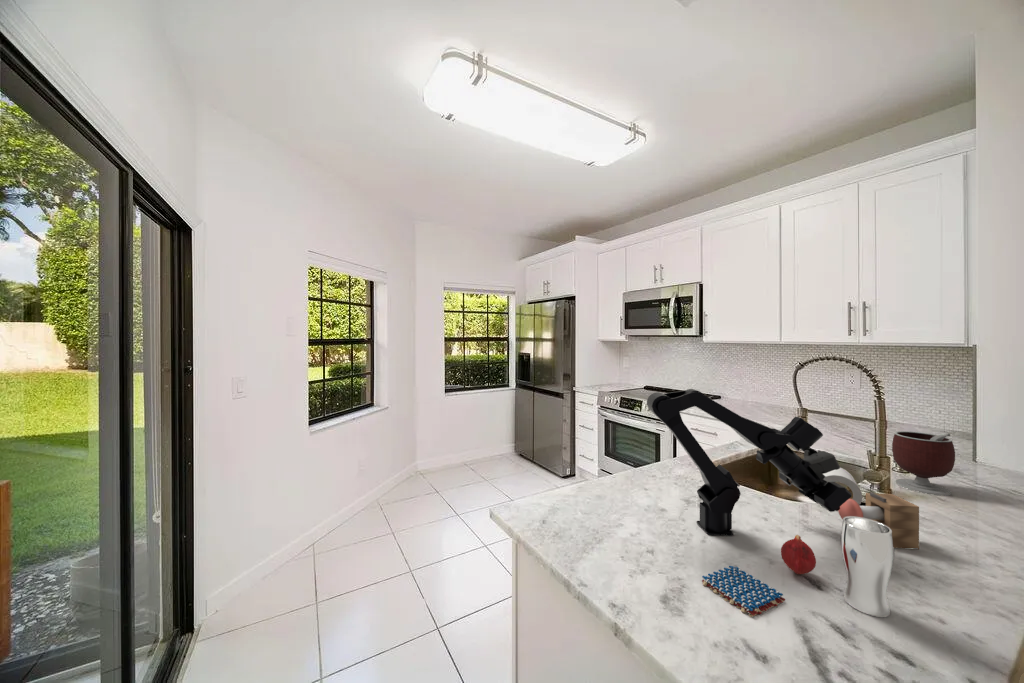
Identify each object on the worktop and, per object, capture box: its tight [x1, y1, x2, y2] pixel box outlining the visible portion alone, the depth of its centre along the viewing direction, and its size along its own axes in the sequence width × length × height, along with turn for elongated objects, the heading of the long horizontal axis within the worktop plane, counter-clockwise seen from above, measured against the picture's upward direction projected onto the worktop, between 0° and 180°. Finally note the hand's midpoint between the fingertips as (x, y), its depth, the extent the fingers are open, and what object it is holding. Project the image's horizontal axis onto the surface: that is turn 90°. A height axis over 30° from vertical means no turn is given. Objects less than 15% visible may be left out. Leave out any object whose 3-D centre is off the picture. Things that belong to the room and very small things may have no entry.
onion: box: [780, 534, 817, 575], centre depth 77 cm, size 6×6×8 cm
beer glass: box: [840, 516, 895, 618], centre depth 68 cm, size 7×7×15 cm
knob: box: [837, 499, 885, 521], centre depth 91 cm, size 8×6×6 cm
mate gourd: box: [891, 430, 956, 496], centre depth 121 cm, size 16×14×20 cm
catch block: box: [865, 491, 920, 550], centre depth 90 cm, size 6×7×11 cm
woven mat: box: [701, 565, 786, 618], centre depth 72 cm, size 10×11×2 cm
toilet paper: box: [823, 467, 863, 506], centre depth 110 cm, size 10×10×10 cm
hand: (837, 509), depth 91 cm, fingers closed
